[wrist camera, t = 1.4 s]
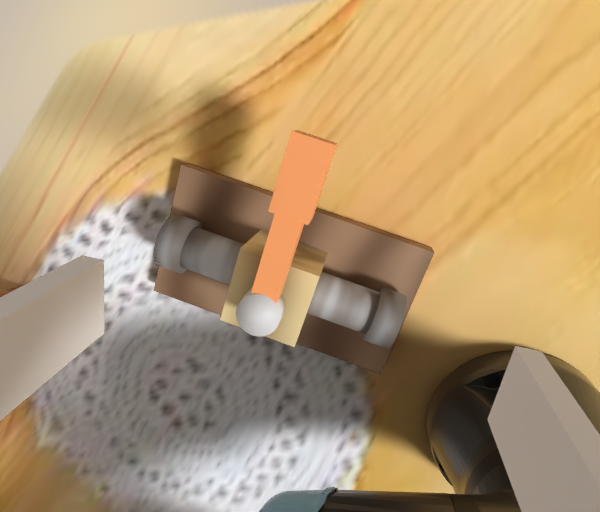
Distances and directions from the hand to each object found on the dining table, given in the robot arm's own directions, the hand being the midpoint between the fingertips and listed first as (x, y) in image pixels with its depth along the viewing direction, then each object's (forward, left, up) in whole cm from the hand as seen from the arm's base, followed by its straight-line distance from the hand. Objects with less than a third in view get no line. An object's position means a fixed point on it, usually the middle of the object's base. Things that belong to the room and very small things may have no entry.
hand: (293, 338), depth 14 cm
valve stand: (+3, +7, -24) cm, 25 cm away
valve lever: (+3, +1, -15) cm, 16 cm away
